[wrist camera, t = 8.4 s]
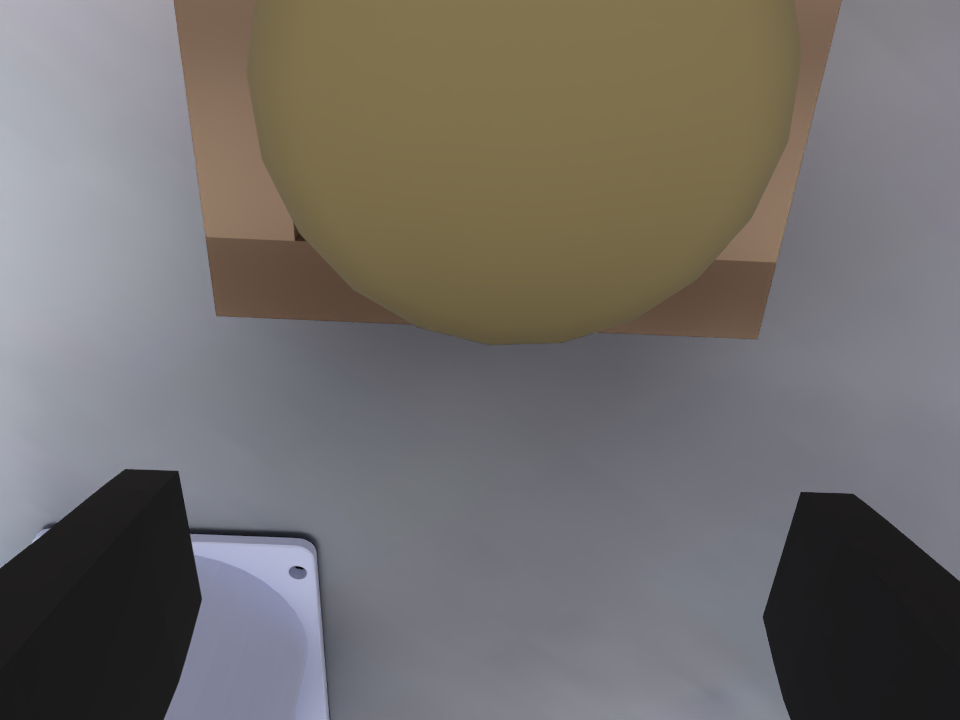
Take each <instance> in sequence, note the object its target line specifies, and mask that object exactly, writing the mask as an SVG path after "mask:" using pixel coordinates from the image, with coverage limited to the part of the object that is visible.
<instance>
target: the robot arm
mask: <svg viewBox="0 0 960 720" xmlns="http://www.w3.org/2000/svg"><path fill="white" fill-rule="evenodd" d="M294 566H300V567H303V568H304V569H297V568H295V567H294ZM763 620H764V624H765V628H766V632H767V637H768V641H769V645H770V649H771V654H772V658H773V662H774V666H775V670H776V674H777V677H778V681H779V685H780V689H781V692H782V696H783V700H784V703H785V705H786V708H787V711H788V714H789V716H790V719H791V720H960V581H959V580H957V579H956V578H955V577H954V576H953V575H951V574H950V573H949V572H948V571H947V570H946V569H944V568H943V567H942V566H941V565H940V564H938V563H937V562H936V561H935V560H934V559H932V558H931V557H930V556H929V555H928V554H926V553H925V552H924V551H923V550H922V549H921V548H919V547H918V546H917V545H916V544H915V543H913V542H912V541H911V540H910V539H909V538H907V537H906V536H905V535H904V534H903V533H901V532H900V531H899V530H898V529H897V528H895V527H894V526H893V525H892V524H891V523H889V522H888V521H887V520H886V519H885V518H883V517H882V516H881V515H880V514H878V513H877V512H876V511H875V510H873V509H872V508H871V507H870V506H868V505H867V504H866V503H865V502H863V501H862V500H861V499H859V498H858V497H857V496H855V495H854V494H844V493H814V492H801V493H800V496H799V500H798V503H797V506H796V510H795V513H794V516H793V519H792V523H791V526H790V529H789V533H788V536H787V539H786V542H785V546H784V549H783V552H782V556H781V559H780V562H779V565H778V569H777V572H776V575H775V579H774V582H773V585H772V588H771V592H770V595H769V598H768V602H767V605H766V608H765V611H764V615H763ZM0 720H329V707H328V694H327V681H326V669H325V656H324V643H323V630H322V617H321V604H320V591H319V578H318V566H317V553H316V549H315V547H314V546H313V544H312V543H311V542H309V541H307V540H305V539H300V538H281V537H255V536H229V535H204V534H190V531H189V526H188V520H187V515H186V510H185V504H184V499H183V494H182V488H181V483H180V477H179V472H178V471H163V470H133V469H125V470H124V471H122V472H121V473H120V474H118V475H117V476H116V477H114V478H113V479H112V480H110V481H109V482H108V483H106V484H105V485H104V486H103V487H101V488H100V489H99V490H98V491H96V492H95V493H94V494H93V495H91V496H90V497H89V498H88V499H86V500H85V501H84V502H83V503H81V504H80V505H79V506H78V507H76V508H75V509H74V510H73V511H72V512H70V513H69V514H68V515H67V516H65V517H64V518H63V519H62V520H60V521H59V522H58V523H57V524H55V525H54V526H53V527H52V528H51V529H43V530H41V531H40V532H38V534H37V535H36V537H35V538H34V539H33V541H32V543H31V545H29V546H28V547H27V548H26V549H24V550H23V551H22V552H20V553H19V554H18V555H17V556H15V557H14V558H13V559H12V560H10V561H9V562H8V563H7V564H5V565H4V566H3V567H1V568H0Z"/></svg>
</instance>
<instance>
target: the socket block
mask: <svg viewBox="0 0 960 720" xmlns="http://www.w3.org/2000/svg"><path fill="white" fill-rule="evenodd" d="M841 2H842V0H794V4H795V11H796V17H797V23H798V30H799V36H800V42H801V49H802V57H801V63H800V70H799V76H798V83H797V89H796V95H795V102H794V108H793V115H792V121H791V128H790V134H789V141H788V143H787V145H786V147H785V150H784V152H783V154H782V156H781V158H780V160H779V162H778V164H777V166H776V168H775V170H774V173H773V175H772V177H771V179H770V181H769V183H768V185H767V187H766V189H765V191H764V193H763V196H762V198H761V200H760V202H759V204H758V206H757V208H756V210H755V212H754V214H753V216H752V218H751V220H750V221H749V222H748V223H747V224H746V225H745V226H744V227H743V229H742V230H741V231H740V232H739V233H738V234H737V235H736V236H735V238H734V239H733V240H732V241H731V242H730V243H729V244H728V246H727V247H726V248H725V249H724V250H723V251H722V252H721V253H720V255H719V256H718V257H717V258H716V259H715V260H714V261H713V262H712V264H711V265H710V266H709V267H708V268H707V269H706V270H705V271H704V273H703V274H702V275H701V276H700V277H699V278H698V279H697V280H695V281H694V282H692V283H691V284H689V285H688V286H686V287H685V288H683V289H681V290H680V291H678V292H677V293H675V294H674V295H672V296H671V297H669V298H667V299H666V300H664V301H663V302H661V303H660V304H658V305H657V306H655V307H653V308H652V309H650V310H649V311H647V312H646V313H644V314H643V315H641V316H640V317H638V318H636V319H635V320H633V321H630V322H627V323H624V324H621V325H618V326H614V327H611V328H608V329H605V330H602V331H598V332H599V333H622V334H645V335H669V336H692V337H715V338H738V339H758V335H759V331H760V326H761V322H762V318H763V314H764V310H765V306H766V302H767V298H768V294H769V290H770V286H771V282H772V278H773V274H774V270H775V266H776V262H777V258H778V254H779V250H780V246H781V242H782V238H783V234H784V230H785V226H786V222H787V218H788V214H789V210H790V206H791V202H792V198H793V194H794V190H795V186H796V182H797V178H798V174H799V170H800V166H801V162H802V158H803V154H804V150H805V146H806V142H807V138H808V134H809V130H810V126H811V122H812V118H813V114H814V110H815V106H816V102H817V98H818V94H819V90H820V86H821V82H822V78H823V74H824V70H825V66H826V62H827V58H828V54H829V50H830V46H831V42H832V38H833V34H834V30H835V26H836V22H837V18H838V14H839V10H840V6H841ZM174 7H175V14H176V22H177V29H178V36H179V44H180V51H181V59H182V66H183V73H184V81H185V88H186V96H187V103H188V110H189V118H190V125H191V133H192V140H193V147H194V155H195V162H196V169H197V177H198V184H199V192H200V199H201V206H202V214H203V221H204V229H205V236H206V243H207V251H208V258H209V266H210V273H211V280H212V288H213V295H214V303H215V310H216V316H227V317H250V318H273V319H297V320H320V321H343V322H366V323H390V324H411V323H409V322H408V321H406V320H404V319H403V318H401V317H399V316H397V315H396V314H394V313H392V312H391V311H389V310H387V309H385V308H384V307H382V306H380V305H378V304H377V303H375V302H373V301H372V300H370V299H368V298H366V297H365V296H363V295H361V294H360V293H358V292H356V291H354V290H353V289H352V288H351V287H350V286H349V285H348V284H347V283H346V282H345V281H344V280H343V279H342V278H341V277H340V276H339V275H338V274H337V272H336V271H335V270H334V269H333V268H332V267H331V266H330V265H329V264H328V263H327V262H326V261H325V260H324V259H323V258H322V257H321V256H320V255H319V254H318V252H317V251H316V250H315V249H314V248H313V247H312V246H311V245H310V244H309V243H308V242H307V241H306V240H305V239H304V238H303V237H302V236H301V235H300V234H299V232H298V230H297V228H296V226H295V224H294V222H293V220H292V218H291V216H290V214H289V212H288V210H287V208H286V206H285V204H284V202H283V200H282V198H281V197H280V195H279V193H278V191H277V189H276V187H275V185H274V183H273V181H272V179H271V177H270V175H269V173H268V171H267V169H266V167H265V165H264V163H263V161H262V158H261V152H260V146H259V141H258V135H257V129H256V124H255V118H254V112H253V107H252V101H251V95H250V89H249V84H248V78H247V62H248V54H249V46H250V38H251V31H252V23H253V15H254V8H255V0H174Z"/></svg>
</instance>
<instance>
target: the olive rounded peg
mask: <svg viewBox="0 0 960 720" xmlns="http://www.w3.org/2000/svg"><path fill="white" fill-rule="evenodd" d="M801 57H802V49H801V42H800V36H799V30H798V23H797V17H796V11H795V4H794V0H255V8H254V15H253V23H252V31H251V38H250V46H249V54H248V62H247V78H248V84H249V89H250V95H251V101H252V107H253V112H254V118H255V124H256V129H257V135H258V141H259V146H260V152H261V158H262V161H263V163H264V165H265V167H266V169H267V171H268V173H269V175H270V177H271V179H272V181H273V183H274V185H275V187H276V189H277V191H278V193H279V195H280V197H281V198H282V200H283V202H284V204H285V206H286V208H287V210H288V212H289V214H290V216H291V218H292V220H293V222H294V224H295V226H296V228H297V230H298V232H299V234H300V235H301V236H302V237H303V238H304V239H305V240H306V241H307V242H308V243H309V244H310V245H311V246H312V247H313V248H314V249H315V250H316V251H317V252H318V254H319V255H320V256H321V257H322V258H323V259H324V260H325V261H326V262H327V263H328V264H329V265H330V266H331V267H332V268H333V269H334V270H335V271H336V272H337V274H338V275H339V276H340V277H341V278H342V279H343V280H344V281H345V282H346V283H347V284H348V285H349V286H350V287H351V288H352V289H353V290H354V291H356V292H358V293H360V294H361V295H363V296H365V297H366V298H368V299H370V300H372V301H373V302H375V303H377V304H378V305H380V306H382V307H384V308H385V309H387V310H389V311H391V312H392V313H394V314H396V315H397V316H399V317H401V318H403V319H404V320H406V321H408V322H409V323H411V324H413V325H415V326H416V327H419V328H423V329H427V330H431V331H435V332H439V333H443V334H447V335H451V336H455V337H459V338H463V339H467V340H471V341H475V342H478V343H482V344H486V345H506V344H540V343H563V342H566V341H569V340H573V339H576V338H579V337H582V336H585V335H589V334H592V333H595V332H598V331H602V330H605V329H608V328H611V327H614V326H618V325H621V324H624V323H627V322H630V321H633V320H635V319H636V318H638V317H640V316H641V315H643V314H644V313H646V312H647V311H649V310H650V309H652V308H653V307H655V306H657V305H658V304H660V303H661V302H663V301H664V300H666V299H667V298H669V297H671V296H672V295H674V294H675V293H677V292H678V291H680V290H681V289H683V288H685V287H686V286H688V285H689V284H691V283H692V282H694V281H695V280H697V279H698V278H699V277H700V276H701V275H702V274H703V273H704V271H705V270H706V269H707V268H708V267H709V266H710V265H711V264H712V262H713V261H714V260H715V259H716V258H717V257H718V256H719V255H720V253H721V252H722V251H723V250H724V249H725V248H726V247H727V246H728V244H729V243H730V242H731V241H732V240H733V239H734V238H735V236H736V235H737V234H738V233H739V232H740V231H741V230H742V229H743V227H744V226H745V225H746V224H747V223H748V222H749V221H750V220H751V218H752V216H753V214H754V212H755V210H756V208H757V206H758V204H759V202H760V200H761V198H762V196H763V193H764V191H765V189H766V187H767V185H768V183H769V181H770V179H771V177H772V175H773V173H774V170H775V168H776V166H777V164H778V162H779V160H780V158H781V156H782V154H783V152H784V150H785V147H786V145H787V143H788V141H789V134H790V128H791V121H792V115H793V108H794V102H795V95H796V89H797V83H798V76H799V70H800V63H801Z"/></svg>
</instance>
